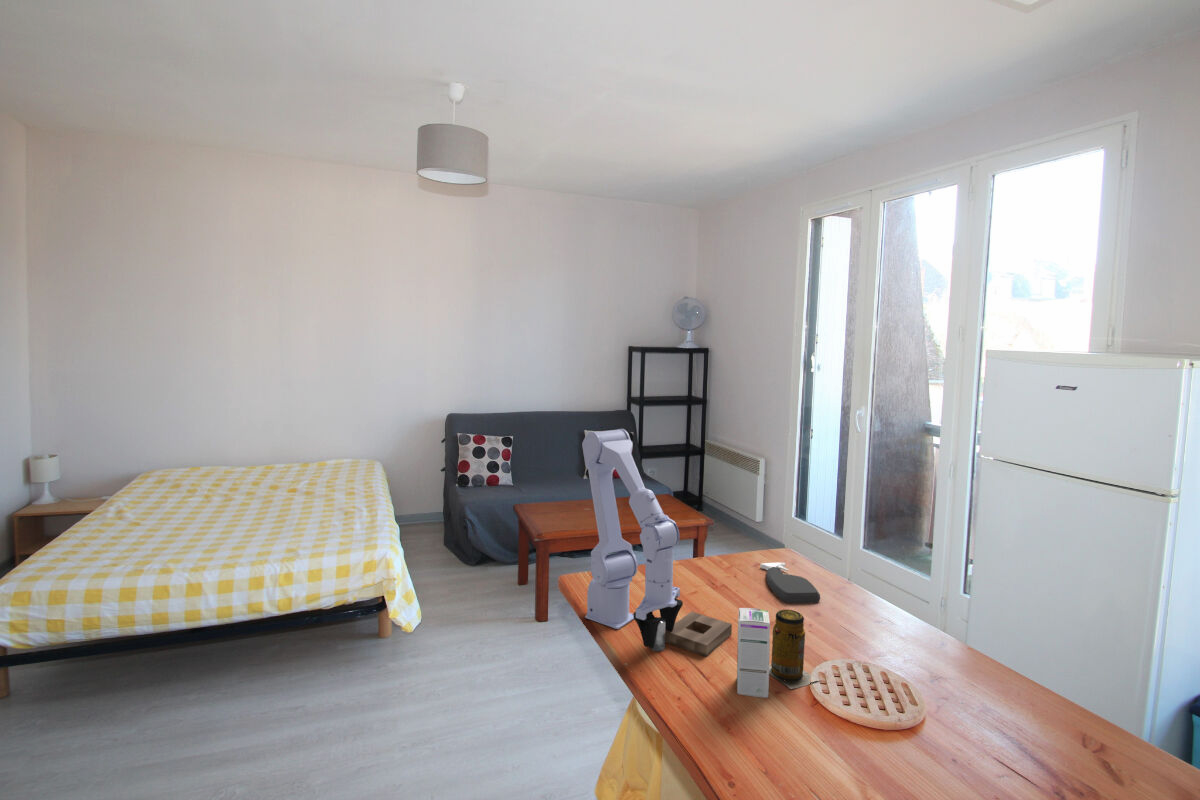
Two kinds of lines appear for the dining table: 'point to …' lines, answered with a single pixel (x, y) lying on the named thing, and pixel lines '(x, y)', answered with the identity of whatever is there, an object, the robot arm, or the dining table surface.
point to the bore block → (698, 633)
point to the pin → (660, 636)
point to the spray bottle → (789, 585)
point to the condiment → (789, 649)
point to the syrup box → (753, 652)
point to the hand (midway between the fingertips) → (658, 639)
